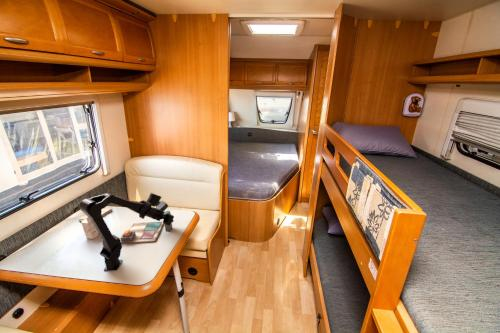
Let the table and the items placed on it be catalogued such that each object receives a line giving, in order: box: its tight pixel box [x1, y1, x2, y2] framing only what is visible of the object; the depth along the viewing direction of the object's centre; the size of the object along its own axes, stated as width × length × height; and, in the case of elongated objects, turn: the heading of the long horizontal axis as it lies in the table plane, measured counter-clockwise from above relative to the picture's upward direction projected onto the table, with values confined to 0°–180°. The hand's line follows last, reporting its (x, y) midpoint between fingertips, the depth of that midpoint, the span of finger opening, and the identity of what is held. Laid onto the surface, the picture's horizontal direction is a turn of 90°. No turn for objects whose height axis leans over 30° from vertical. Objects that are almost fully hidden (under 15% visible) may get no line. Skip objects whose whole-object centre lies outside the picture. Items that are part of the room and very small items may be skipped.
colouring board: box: [120, 221, 165, 245], centre depth 141 cm, size 20×20×4 cm
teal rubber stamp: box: [164, 210, 174, 233], centre depth 143 cm, size 5×5×12 cm
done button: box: [123, 229, 131, 237], centre depth 134 cm, size 3×3×3 cm
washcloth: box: [78, 207, 113, 223], centre depth 160 cm, size 12×18×3 cm, turn 165°
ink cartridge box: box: [80, 217, 100, 240], centre depth 138 cm, size 9×5×15 cm, turn 168°
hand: (169, 219), depth 144 cm, fingers open, 7 cm apart
